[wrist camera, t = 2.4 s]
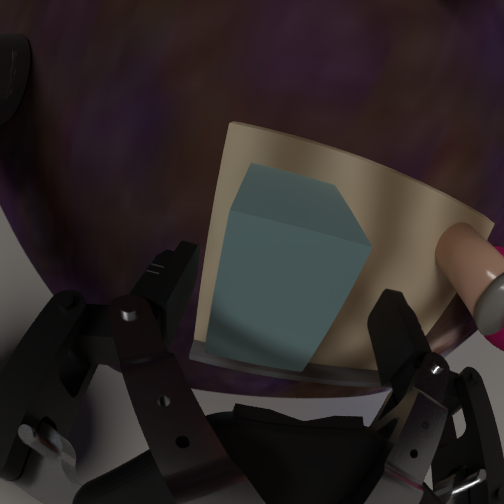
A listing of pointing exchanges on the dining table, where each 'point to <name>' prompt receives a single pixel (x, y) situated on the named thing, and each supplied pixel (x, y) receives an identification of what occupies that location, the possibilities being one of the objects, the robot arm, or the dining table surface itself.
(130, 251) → the dining table surface
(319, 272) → the tea box
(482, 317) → the spice jar
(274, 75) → the dining table surface
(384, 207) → the shelf board
